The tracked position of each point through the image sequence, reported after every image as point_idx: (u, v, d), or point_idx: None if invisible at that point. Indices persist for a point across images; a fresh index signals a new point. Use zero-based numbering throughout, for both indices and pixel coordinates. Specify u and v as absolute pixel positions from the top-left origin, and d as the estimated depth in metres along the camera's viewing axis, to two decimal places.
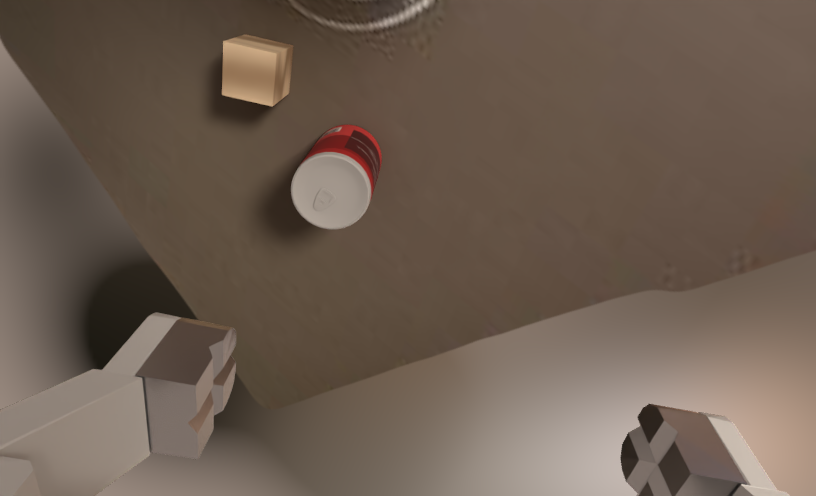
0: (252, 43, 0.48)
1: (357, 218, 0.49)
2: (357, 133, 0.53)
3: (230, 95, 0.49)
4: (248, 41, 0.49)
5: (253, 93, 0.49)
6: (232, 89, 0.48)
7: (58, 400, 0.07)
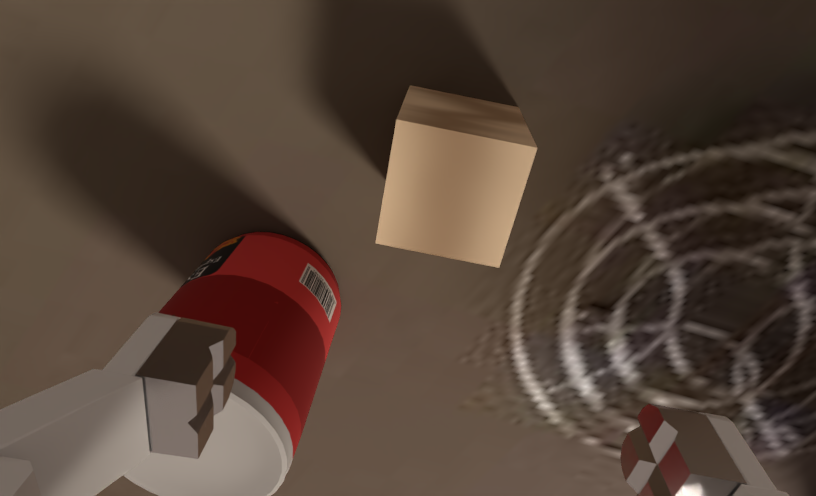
0: None
1: (141, 485, 0.20)
2: None
3: (396, 143, 0.18)
4: None
5: (404, 203, 0.19)
6: (413, 150, 0.18)
7: (58, 400, 0.07)
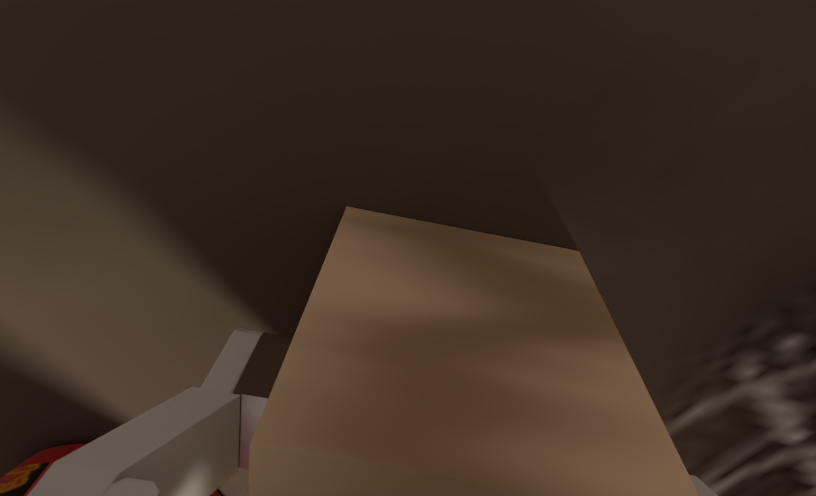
0: None
1: None
2: None
3: None
4: None
5: None
6: None
7: (166, 419, 0.07)
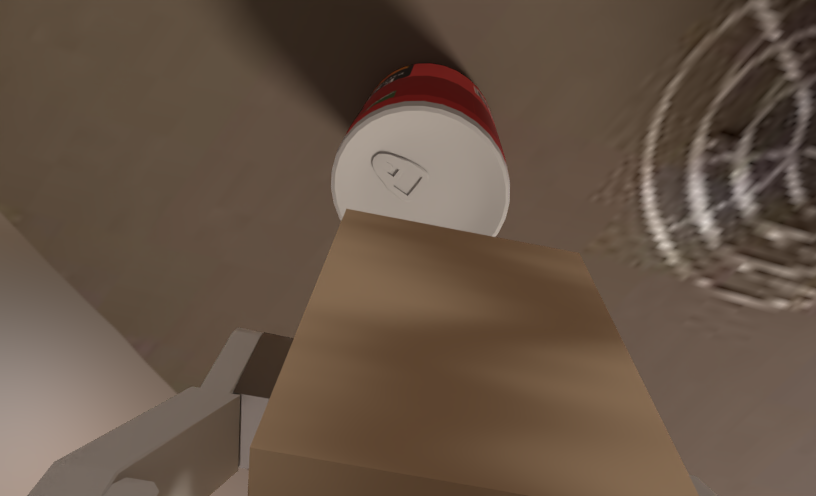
0: None
1: None
2: None
3: None
4: None
5: None
6: None
7: (166, 419, 0.07)
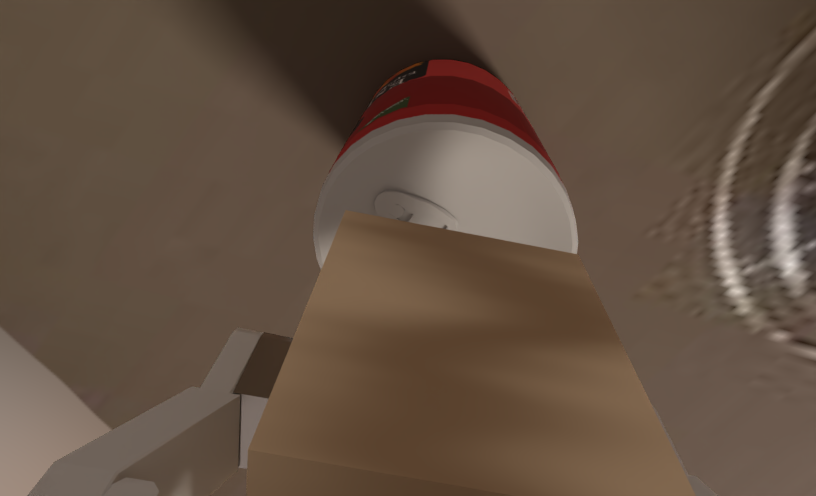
0: None
1: None
2: None
3: None
4: None
5: None
6: None
7: (166, 419, 0.07)
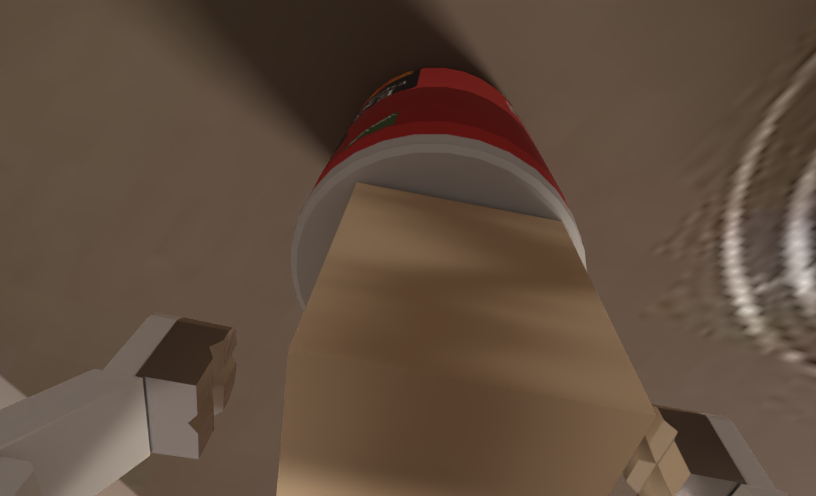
0: None
1: None
2: None
3: (295, 398, 0.07)
4: None
5: None
6: (340, 411, 0.07)
7: (58, 400, 0.07)
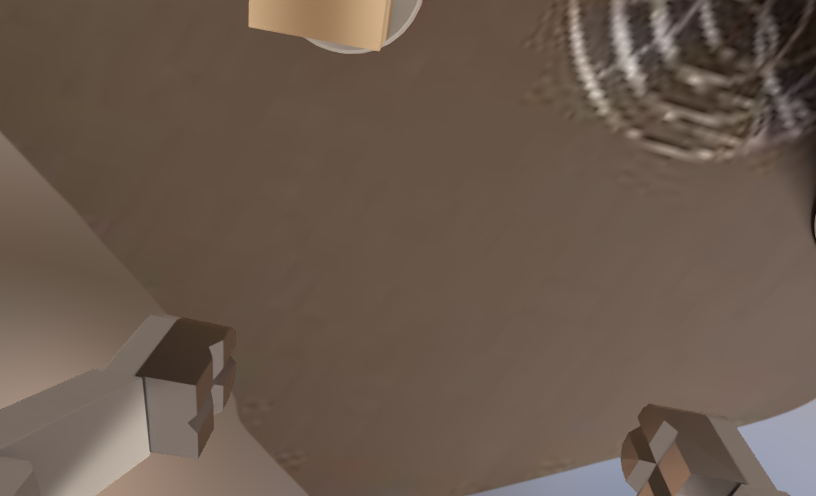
0: None
1: None
2: None
3: None
4: None
5: None
6: None
7: (58, 400, 0.07)
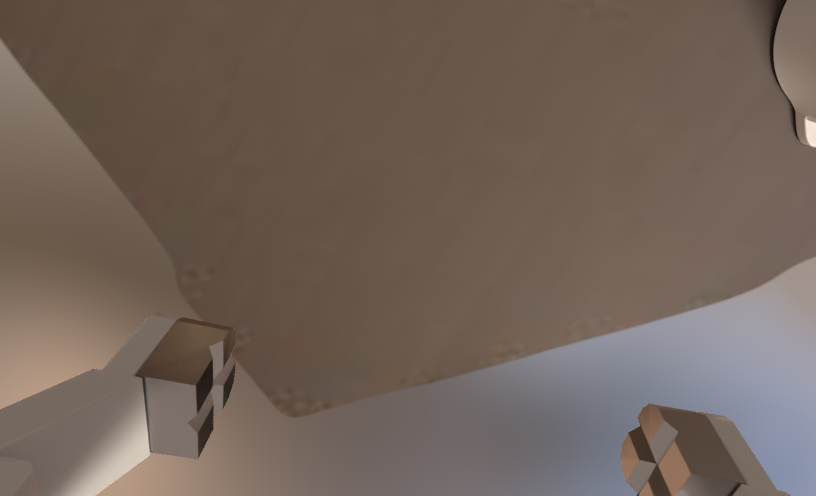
0: None
1: None
2: None
3: None
4: None
5: None
6: None
7: (58, 400, 0.07)
